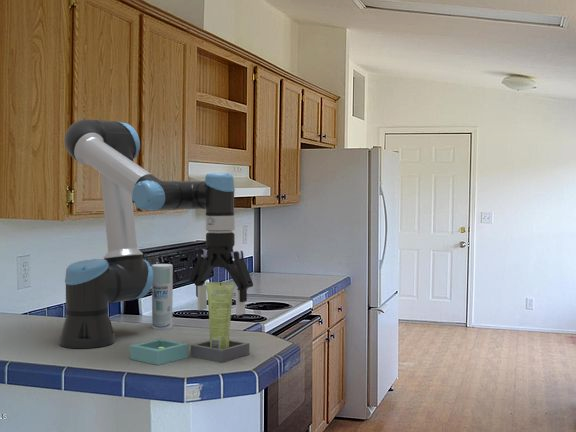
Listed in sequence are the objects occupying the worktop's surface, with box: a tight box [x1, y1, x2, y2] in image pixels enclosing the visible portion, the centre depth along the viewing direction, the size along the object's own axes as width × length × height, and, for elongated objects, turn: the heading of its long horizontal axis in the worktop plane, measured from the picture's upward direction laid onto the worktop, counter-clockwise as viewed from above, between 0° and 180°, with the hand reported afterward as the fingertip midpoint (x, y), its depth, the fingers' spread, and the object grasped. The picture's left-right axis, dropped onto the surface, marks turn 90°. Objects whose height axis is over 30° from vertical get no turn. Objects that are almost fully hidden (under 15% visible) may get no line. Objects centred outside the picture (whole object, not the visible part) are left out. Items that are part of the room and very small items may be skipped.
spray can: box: [151, 263, 174, 331], centre depth 226 cm, size 6×6×20 cm
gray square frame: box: [190, 339, 250, 363], centre depth 190 cm, size 11×11×3 cm
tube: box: [205, 281, 235, 350], centre depth 190 cm, size 6×5×20 cm
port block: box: [129, 338, 189, 366], centre depth 187 cm, size 10×10×4 cm
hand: (221, 312), depth 190 cm, fingers open, 13 cm apart
